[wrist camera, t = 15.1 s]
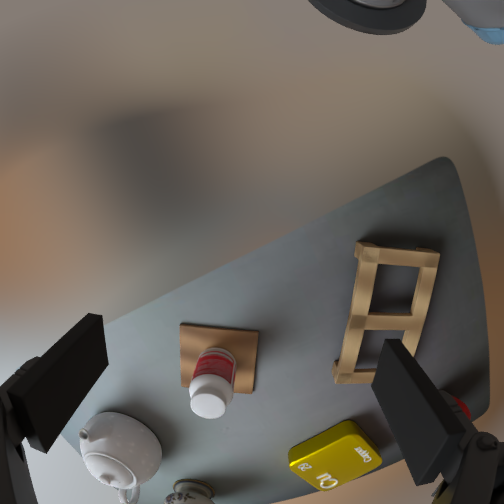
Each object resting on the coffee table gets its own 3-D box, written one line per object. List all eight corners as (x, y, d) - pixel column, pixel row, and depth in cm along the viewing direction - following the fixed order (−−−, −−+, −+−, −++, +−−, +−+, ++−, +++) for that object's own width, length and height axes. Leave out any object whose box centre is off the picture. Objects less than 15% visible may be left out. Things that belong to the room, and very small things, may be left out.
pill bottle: (192, 350, 49) (177, 393, 38) (229, 342, 48) (221, 385, 37) (206, 381, 50) (195, 425, 39) (241, 373, 49) (237, 419, 39)
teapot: (76, 431, 56) (52, 470, 43) (104, 391, 52) (75, 437, 39) (145, 474, 58) (130, 517, 45) (185, 443, 55) (171, 494, 41)
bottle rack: (356, 240, 45) (363, 246, 41) (429, 248, 44) (440, 253, 41) (331, 371, 50) (335, 383, 46) (398, 370, 50) (405, 381, 46)
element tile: (380, 449, 55) (386, 464, 50) (320, 479, 57) (323, 495, 52) (350, 415, 52) (355, 433, 47) (283, 450, 55) (285, 468, 50)
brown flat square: (180, 323, 48) (179, 325, 48) (258, 331, 48) (258, 332, 47) (182, 384, 51) (181, 386, 50) (252, 392, 51) (252, 394, 50)
